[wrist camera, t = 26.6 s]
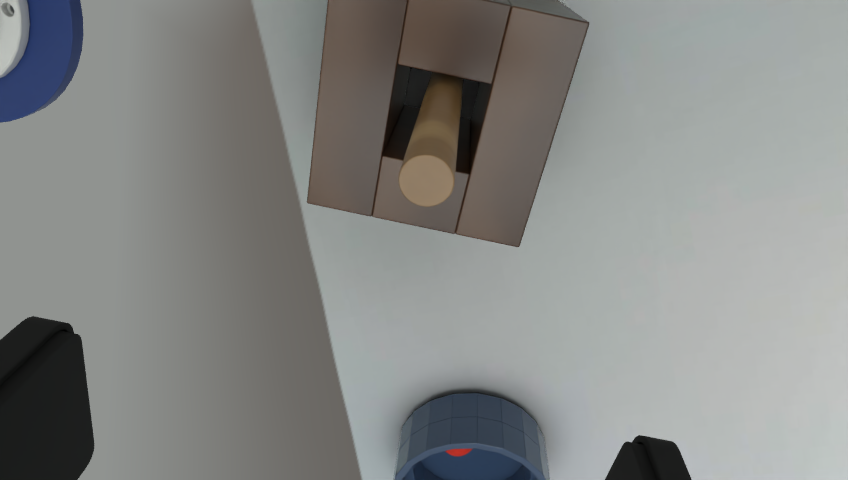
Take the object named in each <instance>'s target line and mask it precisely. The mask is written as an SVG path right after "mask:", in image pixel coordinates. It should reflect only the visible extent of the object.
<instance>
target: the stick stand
mask: <svg viewBox="0 0 848 480" xmlns="http://www.w3.org/2000/svg"><path fill="white" fill-rule="evenodd" d="M588 27H589V22H587V21H586V20H585V19H583V18H582V17H580V16H579V15H578V14H576V13H575V12H573V11H572V10H571V9H569V8H568V7H566V6H565V5H564V4H562V3H561V2H559V1H557V0H328V5H327V15H326V24H325V34H324V44H323V53H322V63H321V73H320V82H319V92H318V102H317V111H316V121H315V131H314V140H313V150H312V160H311V169H310V179H309V189H308V199H307V203H309V204H314V205H319V206H323V207H328V208H333V209H338V210H343V211H347V212H352V213H357V214H362V215H366V216H373V217H376V218H381V219H386V220H390V221H395V222H400V223H405V224H410V225H414V226H419V227H424V228H429V229H433V230H438V231H443V232H448V233H453V234H455V233H456V234H458V235H463V236H467V237H472V238H477V239H482V240H487V241H491V242H496V243H501V244H506V245H510V246H515V247H519V246H520V243H521V240H522V237H523V234H524V230H525V227H526V224H527V221H528V218H529V215H530V211H531V208H532V205H533V202H534V199H535V195H536V192H537V189H538V186H539V183H540V180H541V176H542V173H543V170H544V167H545V164H546V160H547V157H548V154H549V151H550V148H551V145H552V141H553V138H554V135H555V132H556V129H557V125H558V122H559V119H560V116H561V113H562V109H563V106H564V103H565V100H566V97H567V94H568V90H569V87H570V84H571V81H572V78H573V74H574V71H575V68H576V65H577V62H578V59H579V55H580V52H581V49H582V46H583V43H584V39H585V36H586V33H587V30H588ZM411 67H412V68H417V69H421V70H426V71H431V72H435V73H440V74H445V75H449V76H454V77H458V78H463V79H468V80H472V81H477V82H480V84H479V88H478V93H477V97H476V101H475V105H474V109H473V114H472V118H471V119H468V118H463V117H460V124H459V136H458V148H457V159H456V171H455V183H454V188H453V191H452V193H451V195H450V196H449V197H448V198H447V199H446V200H445V201H444V202H442V203H440V204H438V205H435V206H430V207H424V206H419V205H416V204H414V203H412V202H410V201H409V200H408V199H407V198H406V197H405V196H404V195H403V193H402V192H401V190H400V187H399V183H398V176H399V172H400V169H401V166H402V163H403V160H404V157H405V153H406V150H407V147H408V144H409V141H410V138H411V135H412V132H413V129H414V126H415V123H416V120H417V117H418V114H419V111H420V108H416V107H411V106H407V105H404V102H405V96H406V90H407V85H408V79H409V74H410V68H411Z"/></svg>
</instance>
